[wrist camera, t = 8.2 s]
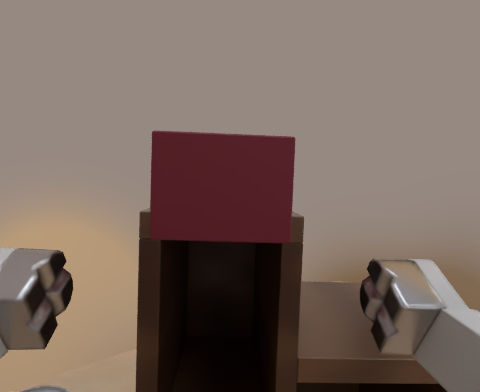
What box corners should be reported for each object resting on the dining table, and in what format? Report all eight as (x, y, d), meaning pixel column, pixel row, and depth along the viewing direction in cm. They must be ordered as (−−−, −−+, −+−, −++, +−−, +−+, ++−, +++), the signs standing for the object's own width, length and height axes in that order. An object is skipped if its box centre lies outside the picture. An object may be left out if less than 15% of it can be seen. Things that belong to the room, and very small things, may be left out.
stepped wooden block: (129, 659, 18) (139, 211, 17) (170, 453, 32) (178, 197, 31) (463, 649, 19) (495, 222, 18) (364, 453, 33) (378, 204, 32)
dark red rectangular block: (149, 240, 9) (151, 130, 9) (201, 199, 29) (202, 164, 29) (290, 244, 10) (295, 136, 9) (246, 201, 30) (248, 166, 29)
